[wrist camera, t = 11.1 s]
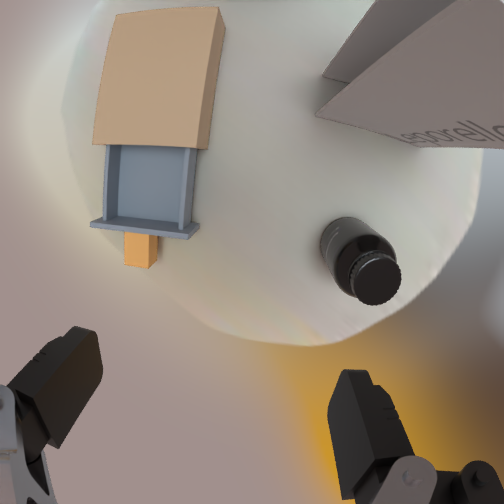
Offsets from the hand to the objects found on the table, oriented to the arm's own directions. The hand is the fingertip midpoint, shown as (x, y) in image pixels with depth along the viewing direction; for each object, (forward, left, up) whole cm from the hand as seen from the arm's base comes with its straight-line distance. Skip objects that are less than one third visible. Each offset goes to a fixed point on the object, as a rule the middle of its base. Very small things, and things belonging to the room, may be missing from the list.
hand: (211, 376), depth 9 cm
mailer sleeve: (-15, -12, -28) cm, 34 cm away
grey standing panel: (-15, +13, -28) cm, 35 cm away
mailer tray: (-4, -12, -28) cm, 30 cm away
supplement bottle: (+2, +12, -28) cm, 31 cm away
